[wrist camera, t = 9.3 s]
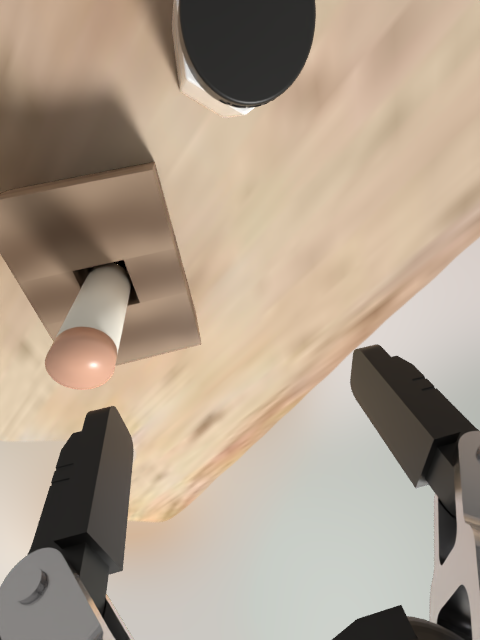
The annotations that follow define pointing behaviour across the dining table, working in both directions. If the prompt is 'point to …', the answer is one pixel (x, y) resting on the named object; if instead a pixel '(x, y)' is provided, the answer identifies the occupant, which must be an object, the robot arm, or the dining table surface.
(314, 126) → the dining table surface
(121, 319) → the plug
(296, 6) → the jar
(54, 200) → the socket block
